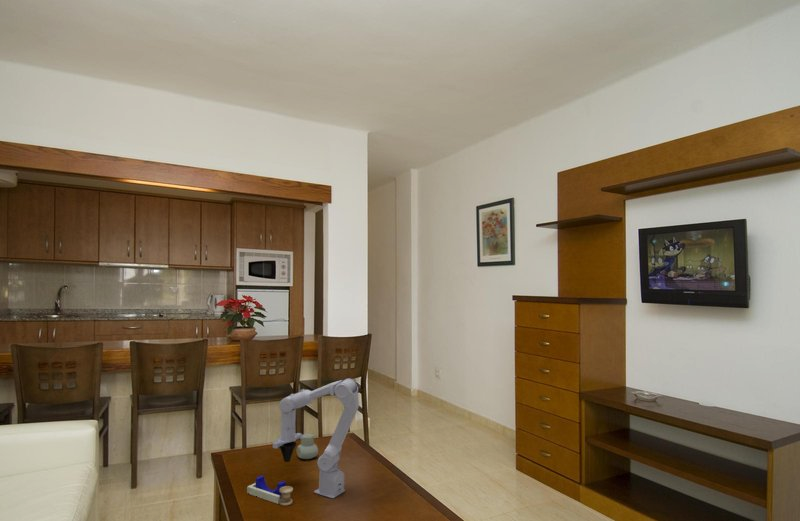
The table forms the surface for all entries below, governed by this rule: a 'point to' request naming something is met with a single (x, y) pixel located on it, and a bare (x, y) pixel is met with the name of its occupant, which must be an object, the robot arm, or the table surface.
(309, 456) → the air freshener
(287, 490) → the bobbin
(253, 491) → the notched fence
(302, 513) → the table surface
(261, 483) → the blue curved block
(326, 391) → the robot arm
